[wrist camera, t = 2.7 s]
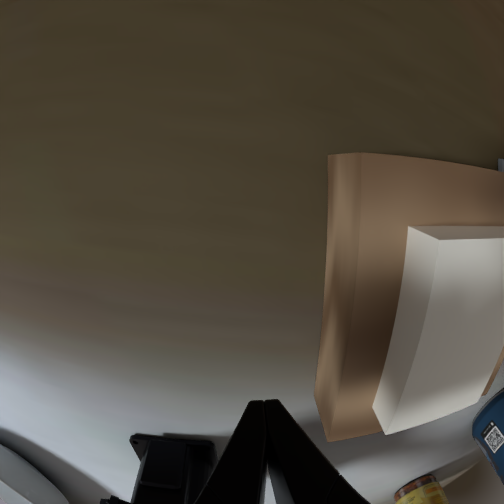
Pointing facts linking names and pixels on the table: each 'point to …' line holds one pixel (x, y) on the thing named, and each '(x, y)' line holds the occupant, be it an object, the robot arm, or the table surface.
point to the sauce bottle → (421, 492)
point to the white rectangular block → (443, 325)
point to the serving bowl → (25, 482)
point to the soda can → (491, 432)
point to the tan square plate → (382, 267)
